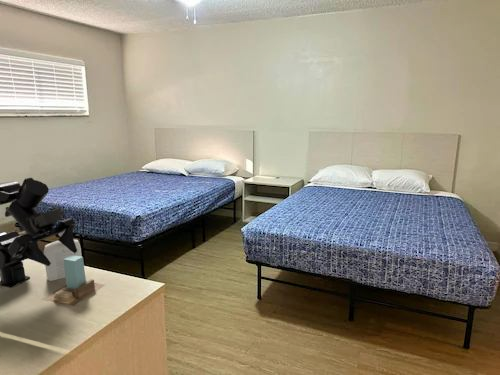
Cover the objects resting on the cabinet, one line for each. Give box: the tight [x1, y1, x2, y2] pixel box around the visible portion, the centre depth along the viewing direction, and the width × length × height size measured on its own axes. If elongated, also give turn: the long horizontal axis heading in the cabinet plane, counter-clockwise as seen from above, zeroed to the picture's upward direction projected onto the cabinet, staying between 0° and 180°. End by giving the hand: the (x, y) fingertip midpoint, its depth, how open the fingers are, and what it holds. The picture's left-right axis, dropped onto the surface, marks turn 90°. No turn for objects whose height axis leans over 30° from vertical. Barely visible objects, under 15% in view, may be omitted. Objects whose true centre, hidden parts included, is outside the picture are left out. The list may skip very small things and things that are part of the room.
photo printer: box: [43, 238, 83, 282], centre depth 109 cm, size 10×4×12 cm, turn 123°
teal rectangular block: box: [63, 255, 86, 290], centre depth 98 cm, size 4×3×10 cm
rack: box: [42, 278, 105, 307], centre depth 100 cm, size 11×12×4 cm
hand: (63, 258), depth 98 cm, fingers open, 9 cm apart
